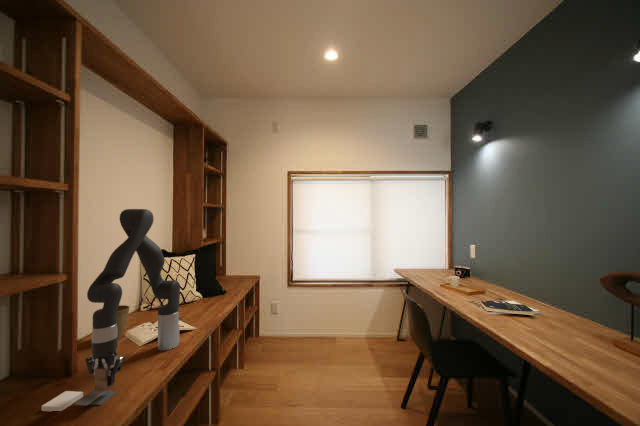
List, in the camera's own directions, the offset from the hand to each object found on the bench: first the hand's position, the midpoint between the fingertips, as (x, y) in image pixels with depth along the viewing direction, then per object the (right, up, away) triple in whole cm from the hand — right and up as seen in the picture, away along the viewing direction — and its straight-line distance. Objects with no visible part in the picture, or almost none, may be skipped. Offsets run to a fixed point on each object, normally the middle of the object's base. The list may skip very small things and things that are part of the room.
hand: (104, 384), depth 99 cm
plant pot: (-34, -6, +48) cm, 59 cm away
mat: (0, -4, -1) cm, 4 cm away
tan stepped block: (0, -1, -4) cm, 4 cm away
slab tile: (-11, -4, 0) cm, 12 cm away
